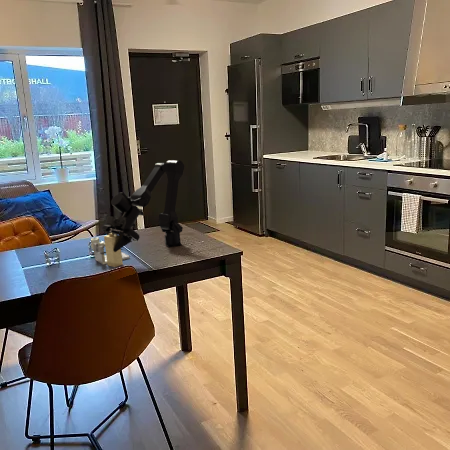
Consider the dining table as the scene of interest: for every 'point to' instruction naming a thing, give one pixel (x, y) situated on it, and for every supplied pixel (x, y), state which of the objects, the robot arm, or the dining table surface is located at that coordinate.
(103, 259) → the fixed leaf
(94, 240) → the valve
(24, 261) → the dining table surface
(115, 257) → the loose leaf
